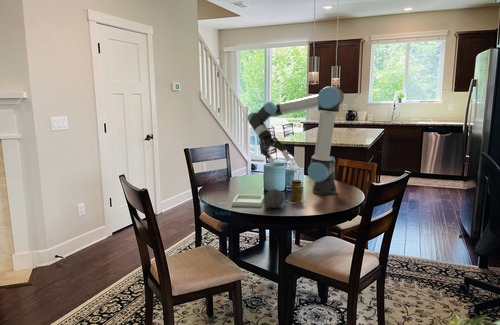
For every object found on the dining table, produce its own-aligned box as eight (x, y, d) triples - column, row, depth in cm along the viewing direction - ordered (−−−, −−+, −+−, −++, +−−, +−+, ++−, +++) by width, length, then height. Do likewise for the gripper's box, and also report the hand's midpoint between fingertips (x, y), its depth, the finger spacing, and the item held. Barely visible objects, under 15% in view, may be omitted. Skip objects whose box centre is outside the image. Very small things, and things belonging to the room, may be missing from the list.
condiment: (304, 201, 202) (305, 181, 200) (293, 203, 197) (293, 183, 195) (296, 198, 208) (296, 178, 206) (285, 200, 203) (285, 180, 201)
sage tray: (264, 199, 207) (264, 195, 206) (261, 207, 191) (261, 202, 191) (237, 198, 209) (237, 194, 209) (232, 206, 194) (232, 201, 193)
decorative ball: (261, 208, 189) (261, 190, 187) (271, 203, 197) (271, 186, 195) (278, 211, 184) (278, 193, 182) (287, 206, 192) (287, 188, 190)
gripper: (274, 136, 226) (291, 162, 217) (245, 139, 209) (262, 167, 201) (280, 128, 221) (298, 154, 212) (251, 130, 204) (269, 159, 196)
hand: (281, 161), depth 207 cm, fingers open, 13 cm apart
